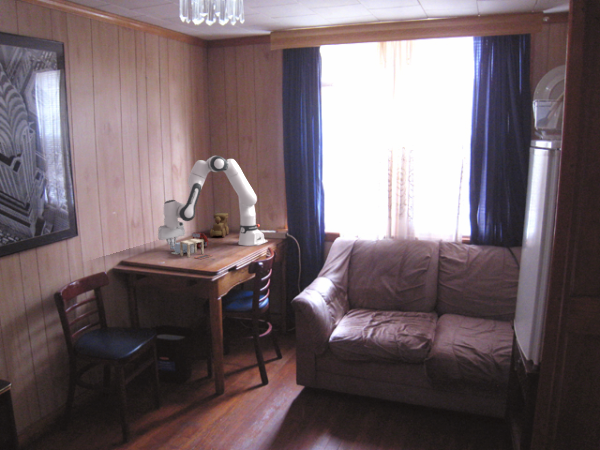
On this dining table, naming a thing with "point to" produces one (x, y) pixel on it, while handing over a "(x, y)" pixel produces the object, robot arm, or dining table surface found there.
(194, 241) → the tunnel
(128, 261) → the dining table surface
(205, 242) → the toy fire truck
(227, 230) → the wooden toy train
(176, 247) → the sled
